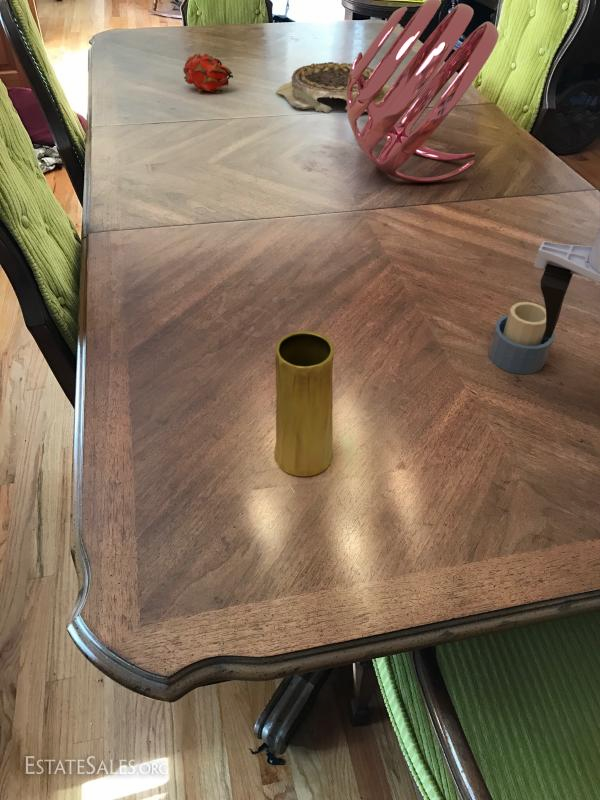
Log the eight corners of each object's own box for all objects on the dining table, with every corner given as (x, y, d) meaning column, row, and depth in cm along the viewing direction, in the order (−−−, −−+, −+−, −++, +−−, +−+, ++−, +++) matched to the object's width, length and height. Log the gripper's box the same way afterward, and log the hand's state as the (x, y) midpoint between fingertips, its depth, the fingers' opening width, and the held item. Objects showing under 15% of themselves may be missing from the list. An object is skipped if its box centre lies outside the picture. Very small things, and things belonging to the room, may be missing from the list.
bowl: (550, 349, 77) (560, 323, 74) (537, 381, 72) (547, 355, 70) (497, 332, 79) (504, 307, 76) (481, 363, 75) (488, 337, 72)
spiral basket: (565, 46, 104) (445, -72, 97) (526, 144, 90) (385, 15, 84) (456, 150, 127) (354, 60, 121) (412, 239, 114) (295, 144, 108)
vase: (282, 483, 61) (279, 376, 51) (268, 439, 65) (263, 333, 56) (340, 470, 62) (348, 364, 52) (322, 428, 67) (327, 322, 57)
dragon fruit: (183, 94, 148) (231, 105, 148) (173, 81, 140) (223, 93, 139) (191, 57, 147) (239, 69, 146) (181, 41, 138) (232, 54, 138)
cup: (539, 348, 76) (553, 308, 72) (530, 369, 73) (544, 328, 69) (504, 337, 77) (516, 297, 73) (494, 357, 75) (506, 317, 70)
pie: (265, 82, 150) (264, 59, 147) (369, 72, 156) (371, 50, 153) (299, 122, 131) (299, 98, 127) (416, 110, 137) (419, 86, 133)
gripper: (544, 220, 53) (506, 343, 62) (732, 264, 48) (660, 390, 57) (561, 188, 57) (524, 307, 67) (735, 225, 52) (667, 349, 62)
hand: (587, 343), depth 62 cm, fingers open, 7 cm apart
